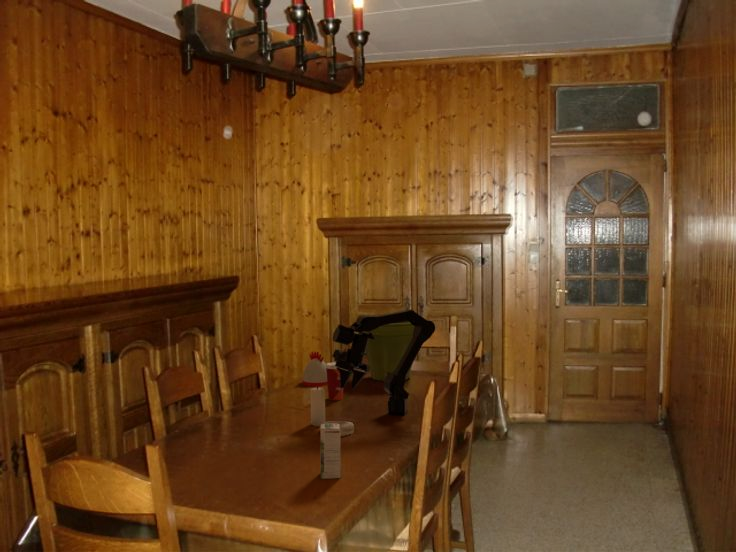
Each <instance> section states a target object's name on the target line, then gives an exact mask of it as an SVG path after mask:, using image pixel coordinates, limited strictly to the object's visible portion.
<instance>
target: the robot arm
mask: <svg viewBox="0 0 736 552" xmlns="http://www.w3.org/2000/svg"><path fill="white" fill-rule="evenodd" d="M407 320H408V321H409V322H410V323H411V324H412V325H413V326H415V327H414V330H413V338H412V340H411V342H410V344H409V345H408V347H407V349H406V351H405V353H404V355H403V357H402V358H401V360H400V362H399V364H398V366H397V368H396V369H395V370H394V371H393V372H392V373H391V372H388V373H387V376H386V378H385V379H384V380H383V381H382V382H383V383H382V384H383V385H382V387H383V389H384V391H385V392H386V393H387V395H388V396H389V399H388V401H387V415H395V416H404V415H406V414H407V413H408V412H409V410H408V405H407V404H408V402H407V400H408V399H409V396H410V393H409V392H408V391H407V390H405V385H406V381H407V379H406V374H407V373H408V371H409V369H410V367H411V365H412V366H413V364H414V362H415V360H416V357H417V356H418V354H419V352H420V351H421V349H422V347H423V345H424V343H426V342H427V341H428V340H429V339H430V338H431V337H432V336H433V334H434V333H435V331H436V325H435V323H434V322H433V321H432V320H429V319H426V318H424V317H423V316H422V315H420V314H419V313H417V312H416V311H415V310H414V309H409V308H406V309H404V310H400V311H395V312H394V311H393V312H388V313H383V314H379V315H377V314H375V315H373V314H372V315H371V314H362V315H361V314H360V315H359V316H358V317H357V318H356V319H355V322H353V323H352V324H350V326H345V325H342V324H337V327H336V328H335V330H334V331H333V334H332V342H334V343H337V344H342V345H344V346H349V345H350V344H351V345H350V348H349V347H348V348H347V350H346V351H342V350H341V349H335V350H334V351H333V353H332V358H333V359H334V360H333V361H334V362H336V364H335V366H336V368H337V369H338V371H339V372H340V387H341V388H343V389H344V388H345V386H346V385H347V383H348V381H349V379H350V378H351V377H352V378H351V387H350V388H351V389H355V388H356V386H358V385H359V384H360V382H361V381H362V379H363V378H364V377H365V376H366V375H367V374H368V373H370V372H371V371H370V366H369V364H368V363H365V362H363V361H364V357H365V356H366V354H367V353H366V352H365V350H366V347H367V343H368V339H373V340H374V337H373V335H372V333H371V332H369V331H372V330H375V329H377V328H379V327H380V326H383V325H387V324H392V323H397V322H402V321H407ZM363 331H366V332H369V333H364V332H363ZM366 357H367V356H366ZM412 363H413V364H412Z"/></svg>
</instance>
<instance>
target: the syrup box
mask: <svg viewBox="0 0 736 552" xmlns="http://www.w3.org/2000/svg"><path fill="white" fill-rule="evenodd" d="M319 445H320V446H319V452H320V453H319V455H320V456H319V457H320V458H319V459H320V460H319V461H320V479H321V480H326V479H327V480H329V479H341V473H342V472H341V436H340V424H334V423H328V424H321V433H320V442H319Z"/></svg>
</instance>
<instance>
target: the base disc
mask: <svg viewBox="0 0 736 552" xmlns="http://www.w3.org/2000/svg"><path fill="white" fill-rule="evenodd" d="M328 423H334V424H340V437H346V436H350V435H353V433H354V432H355V424H353V422H352V421H351V422H350V421H345V420H329V421H325V423H323V424H328ZM319 433H320V434H321V425H320V426H319ZM349 434H350V435H349ZM345 435H346V436H345Z"/></svg>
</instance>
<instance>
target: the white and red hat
mask: <svg viewBox="0 0 736 552" xmlns="http://www.w3.org/2000/svg"><path fill="white" fill-rule="evenodd" d="M308 356H309V359H310V361H309V362H308V363H307V364H306V366H305V368H304V369H303V370H304V371H303V373H302V378H301V382H302V385H303V386H308V387H324V386H328V385H327V371H326V368H325V367H326V364H327V363H326V362H325V361H324V356H322V354H320V353H319V351H311V353H309V354H308Z"/></svg>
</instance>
